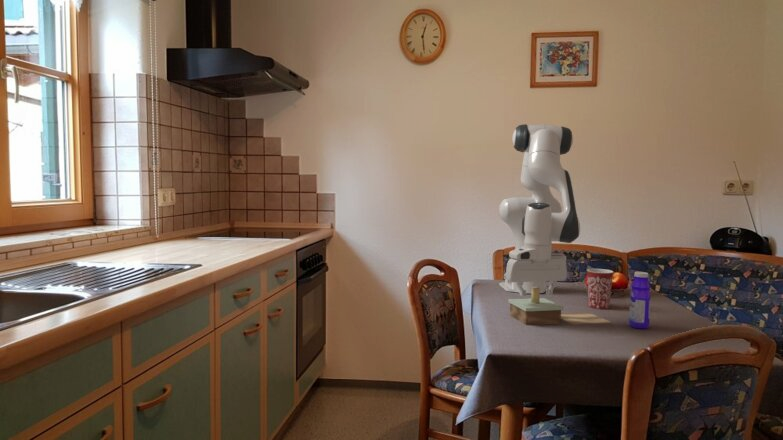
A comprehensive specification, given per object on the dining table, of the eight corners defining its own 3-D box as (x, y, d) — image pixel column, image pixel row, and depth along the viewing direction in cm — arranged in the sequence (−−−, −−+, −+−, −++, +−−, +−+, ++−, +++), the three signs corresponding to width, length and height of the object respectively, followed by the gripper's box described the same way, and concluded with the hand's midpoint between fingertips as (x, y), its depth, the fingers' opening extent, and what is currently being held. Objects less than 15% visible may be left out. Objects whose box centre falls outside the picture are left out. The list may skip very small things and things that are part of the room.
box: (509, 317, 187) (510, 302, 187) (542, 315, 190) (543, 301, 189) (525, 326, 175) (526, 310, 175) (560, 324, 178) (561, 309, 177)
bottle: (626, 323, 181) (629, 270, 180) (644, 324, 180) (647, 271, 179) (632, 329, 174) (635, 274, 173) (651, 330, 173) (654, 274, 172)
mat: (550, 315, 190) (550, 313, 190) (587, 313, 193) (587, 312, 193) (572, 326, 177) (572, 324, 176) (611, 324, 180) (611, 322, 179)
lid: (508, 302, 187) (508, 284, 186) (543, 300, 190) (544, 283, 189) (525, 311, 174) (526, 292, 174) (563, 309, 177) (564, 291, 177)
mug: (610, 311, 198) (612, 273, 197) (584, 308, 202) (585, 271, 201) (613, 304, 209) (615, 268, 208) (588, 301, 213) (589, 266, 212)
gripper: (561, 251, 186) (560, 292, 187) (504, 252, 181) (503, 294, 182) (571, 253, 180) (570, 295, 181) (512, 254, 175) (511, 297, 176)
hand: (536, 294), depth 181 cm, fingers open, 8 cm apart
